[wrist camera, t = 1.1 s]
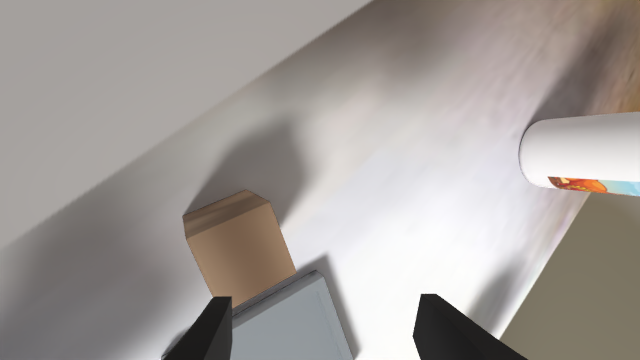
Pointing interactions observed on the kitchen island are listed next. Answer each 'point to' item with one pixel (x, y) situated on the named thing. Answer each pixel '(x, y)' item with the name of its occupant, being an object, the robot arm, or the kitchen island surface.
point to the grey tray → (291, 325)
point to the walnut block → (238, 246)
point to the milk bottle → (584, 153)
